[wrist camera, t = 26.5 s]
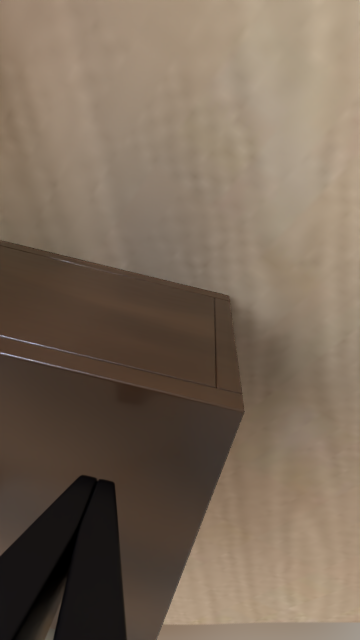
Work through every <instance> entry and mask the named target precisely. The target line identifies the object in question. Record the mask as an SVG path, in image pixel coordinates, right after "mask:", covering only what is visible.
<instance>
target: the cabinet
mask: <svg viewBox="0 0 360 640" xmlns="http://www.w3.org/2000/svg"><path fill="white" fill-rule="evenodd" d="M244 412H245V411H244V403H243V396H242V389H241V381H240V374H239V366H238V359H237V352H236V344H235V337H234V329H233V322H232V314H231V307H230V299H229V296H228V295H224V294H220V293H215V292H211V291H207V290H203V289H199V288H195V287H191V286H187V285H182V284H178V283H174V282H170V281H166V280H162V279H158V278H154V277H149V276H145V275H141V274H137V273H133V272H129V271H125V270H120V269H116V268H112V267H108V266H104V265H100V264H96V263H92V262H87V261H83V260H79V259H75V258H71V257H67V256H63V255H59V254H54V253H50V252H46V251H42V250H38V249H34V248H30V247H25V246H21V245H17V244H13V243H9V242H5V241H1V240H0V556H1V555H2V554H3V553H4V552H5V551H6V550H7V549H8V548H9V547H10V546H11V545H12V544H13V543H14V542H15V541H16V540H17V539H18V538H19V537H20V536H21V535H22V533H23V532H24V531H25V530H26V529H27V528H28V527H29V526H30V525H31V524H32V523H33V522H34V521H35V520H36V519H37V518H38V517H39V516H40V515H41V514H42V513H43V512H44V511H45V510H46V509H47V508H48V507H49V506H50V505H51V504H52V503H53V502H54V501H55V500H56V499H57V498H58V497H59V496H60V495H61V494H62V493H63V492H64V491H65V490H66V489H67V488H68V487H69V486H70V485H71V484H72V483H73V482H74V481H75V480H76V479H77V478H78V477H79V476H80V475H87V476H92V477H95V478H97V481H98V480H99V479H105V480H109V481H113V482H114V483H115V490H116V502H117V515H118V528H119V540H120V553H121V565H122V578H123V591H124V603H125V616H126V628H127V640H157V637H158V635H159V632H160V630H161V627H162V624H163V622H164V619H165V617H166V614H167V612H168V609H169V606H170V604H171V601H172V599H173V596H174V593H175V591H176V588H177V586H178V583H179V580H180V578H181V575H182V573H183V570H184V567H185V565H186V562H187V560H188V557H189V555H190V552H191V549H192V547H193V544H194V542H195V539H196V536H197V534H198V531H199V529H200V526H201V523H202V521H203V518H204V516H205V513H206V510H207V508H208V505H209V503H210V500H211V497H212V495H213V492H214V490H215V487H216V485H217V482H218V479H219V477H220V474H221V472H222V469H223V466H224V464H225V461H226V459H227V456H228V453H229V451H230V448H231V446H232V443H233V440H234V438H235V435H236V433H237V430H238V428H239V425H240V422H241V420H242V417H243V415H244ZM61 602H62V600H61ZM60 607H61V603H60V605H59V607H58V610H57V612H56V615H55V617H54V619H53V622H52V624H51V626H50V629H54V630H55V629H56V624H57V620H58V615H59V611H60Z"/></svg>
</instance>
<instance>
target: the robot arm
mask: <svg viewBox="0 0 360 640" xmlns="http://www.w3.org/2000/svg"><path fill="white" fill-rule="evenodd" d="M61 600H62V602H61ZM60 603H61V607H60V611H59V615H58V620H57V624H56V629H55V633H54V637H53V640H127V628H126V616H125V603H124V591H123V578H122V565H121V553H120V540H119V528H118V515H117V502H116V490H115V483H114V482H113V481H109V480H105V479H99V480H98V481H97V478H95V477H92V476H87V475H80V476H79V477H78V478H77V479H76V480H75V481H74V482H73V483H72V484H71V485H70V486H69V487H68V488H67V489H66V490H65V491H64V492H63V493H62V494H61V495H60V496H59V497H58V498H57V499H56V500H55V501H54V502H53V503H52V504H51V505H50V506H49V507H48V508H47V509H46V510H45V511H44V512H43V513H42V514H41V515H40V516H39V517H38V518H37V519H36V520H35V521H34V522H33V523H32V524H31V525H30V526H29V527H28V528H27V529H26V530H25V531H24V532H23V533H22V535H21V536H20V537H19V538H18V539H17V540H16V541H15V542H14V543H13V544H12V545H11V546H10V547H9V548H8V549H7V550H6V551H5V552H4V553H3V554H2V555H1V556H0V640H45V638H46V636H47V633H48V631H49V629H50V626H51V624H52V622H53V619H54V617H55V615H56V612H57V610H58V607H59V605H60Z"/></svg>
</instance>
